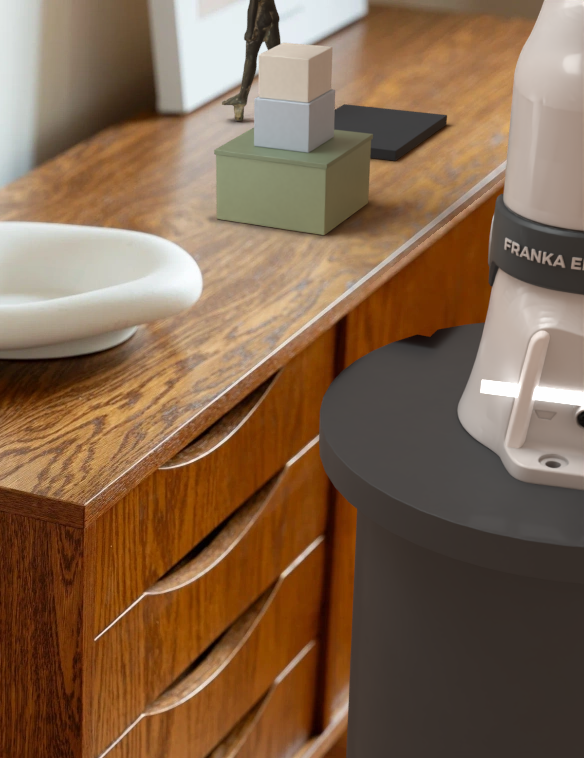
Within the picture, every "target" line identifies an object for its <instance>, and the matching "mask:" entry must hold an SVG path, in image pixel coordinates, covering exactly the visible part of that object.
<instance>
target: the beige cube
mask: <svg viewBox="0 0 584 758" xmlns="http://www.w3.org/2000/svg"><path fill="white" fill-rule="evenodd" d="M332 75H333V46H327V45H326V46H325V45H317V44H315V45H314V44H305V43H303V44H302V43H291V42H282V43H281V44H280V45H278V46H276V47H274V48H271V49H269V50H268V49H267V50H266V51H264V52H261V53H258V96H257V97H259V98H267V99H276V100H286V101H295V102H305V103H309V102H310V101H312V100H314V99H316V98H317V97H319V96H321V95H322V94H324V93H326V92H328V91H329V90H331V89H332V83H333V82H332Z"/></svg>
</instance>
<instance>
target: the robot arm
mask: <svg viewBox="0 0 584 758" xmlns="http://www.w3.org/2000/svg"><path fill="white" fill-rule="evenodd" d="M510 106H511V107H510V116H509V127H508V128H509V129H508V139H507V151H506V160H505V161H506V162H505V173H504V184H503V193H501V194H499V195H498V196H497V197H496V200H495V204H494V205H495V206H494V211H493V212H494V213H493V216H492V218H491V219H492V220H491V225H490V232H489V240H488V253H487V254H488V255H487V257H488V258H487V264H488V267H489V268H488V284H489V287H491V290H490V291H491V292H490V297H489V302H488V308H487V312H486V316H485V322H484V323H485V325H484V330H483V334H482V338H481V342H480V345H479V349H478V353H477V356H476V360H475V363H474V366H473V369H472V372H471V375H470V377H469V380H468V383H467V385H466V388H465V390H464V392H463V395H462V397H461V399H460V401H459V404H458V409H457V412H458V417H459V420H460V422H461V424H462V426H463V427H464V428H465V430H466V431H467V432H468V433H469V434H470V435H471V436H472V437H473V438H475V439H476V440H477V441H479V442H480V443H481V444H483V445H484V446H486V447H487V448H489V449H490V450H492V451H493V452H495V453H496V454H497V455H498V456H499V457H500V459H501V461H502V463H503V465H504V466H505V468H506V470H507V471H508V472H509V474H510V475H511V476H512V477H514V478H515V479H517V480H520V481H522V482H526V483H532V484H540V485H547V486H555V487H562V488H570V489H578V490H584V0H543V2H542V5H541V8H540V11H539V14H538V16H537V18H536V21H535V24H534V26H533V28H532V30H531V32H530V34H529V36H528V37H527V39H526V41H525V43H524V44H523V46H522V48H521V51H520V54H519V55H518V59H517V62H516V65H515V70H514V74H513V84H512V96H511V105H510Z"/></svg>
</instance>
